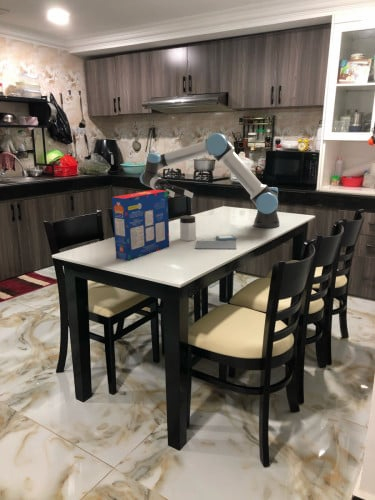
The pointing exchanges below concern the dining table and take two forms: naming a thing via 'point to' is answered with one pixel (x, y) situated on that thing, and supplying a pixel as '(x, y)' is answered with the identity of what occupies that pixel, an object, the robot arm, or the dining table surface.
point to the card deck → (225, 238)
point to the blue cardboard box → (140, 223)
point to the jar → (187, 228)
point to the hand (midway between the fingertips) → (183, 195)
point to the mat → (215, 245)
